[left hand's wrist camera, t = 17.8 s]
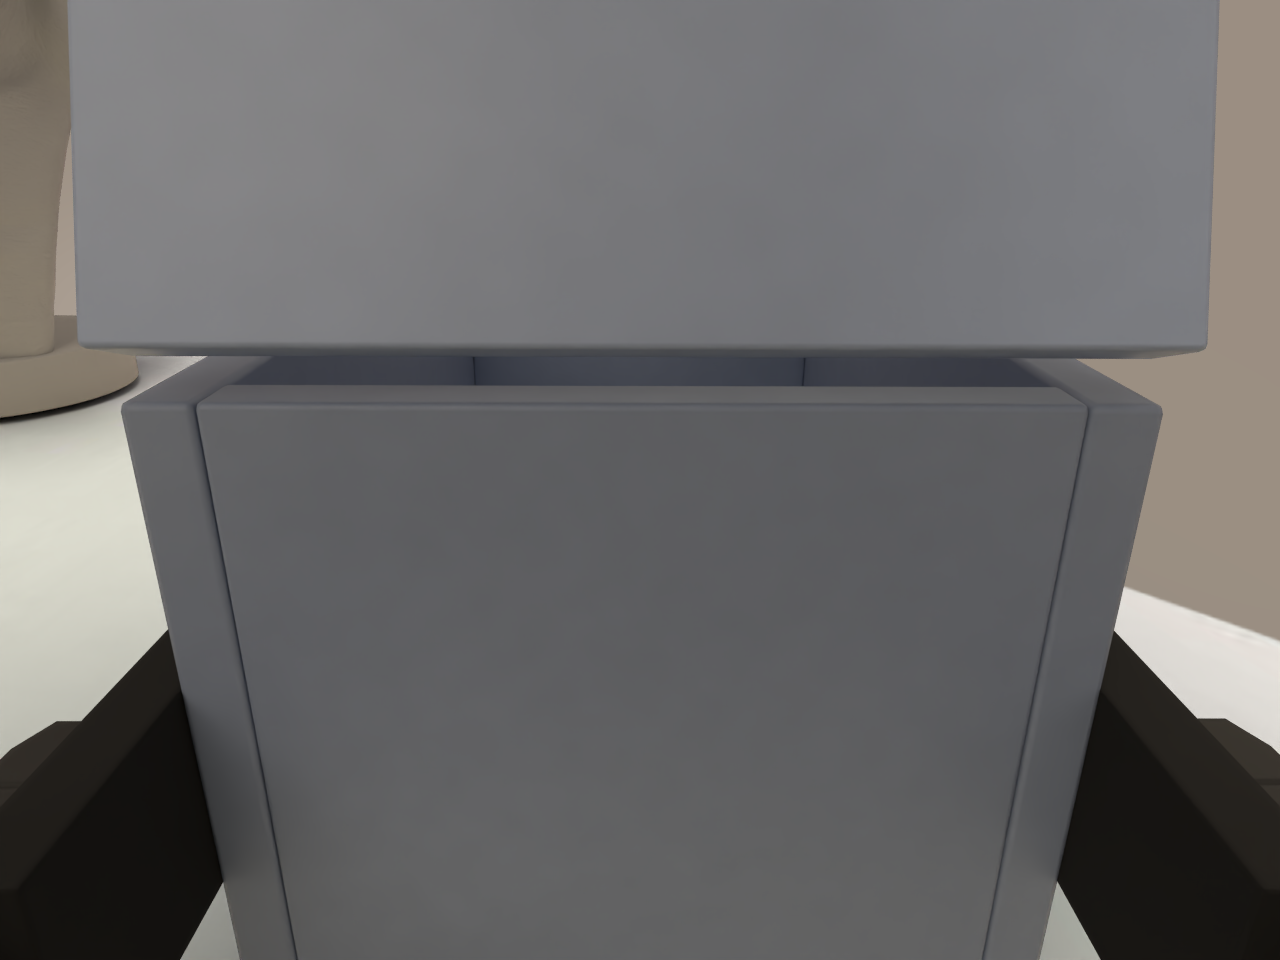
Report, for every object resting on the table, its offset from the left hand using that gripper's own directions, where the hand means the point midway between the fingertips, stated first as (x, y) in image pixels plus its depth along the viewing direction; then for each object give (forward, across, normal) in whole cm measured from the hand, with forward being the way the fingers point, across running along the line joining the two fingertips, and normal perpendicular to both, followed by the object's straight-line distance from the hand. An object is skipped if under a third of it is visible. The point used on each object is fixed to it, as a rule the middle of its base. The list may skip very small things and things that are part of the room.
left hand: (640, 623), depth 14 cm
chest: (+4, 0, -6) cm, 7 cm away
